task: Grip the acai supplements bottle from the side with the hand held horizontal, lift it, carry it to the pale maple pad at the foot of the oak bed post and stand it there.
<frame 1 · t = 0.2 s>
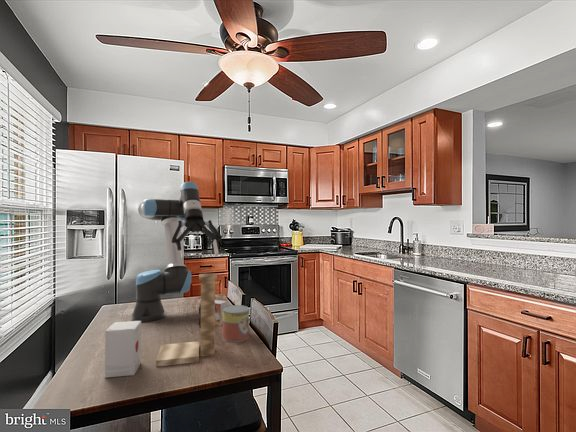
hand: (200, 256, 126), 35 cm above the table, tool tilted 35°, fingers open, 13 cm apart
canned food: (235, 337, 134), on the table
oak post: (207, 352, 118), on the table
small box: (216, 323, 151), on the table
maple pad: (179, 355, 115), on the table
supplement box: (123, 371, 104), on the table
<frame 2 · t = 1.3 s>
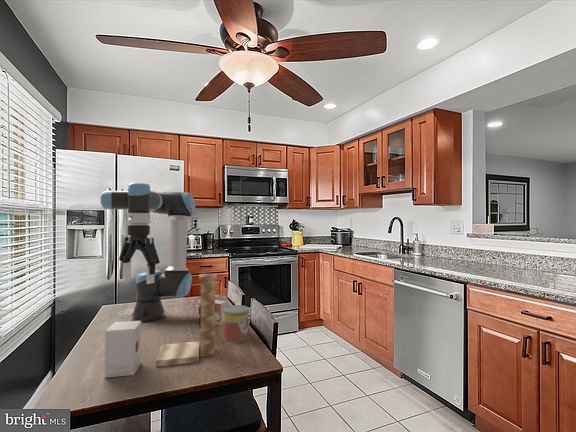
hand: (138, 281, 117), 27 cm above the table, tool pointing down, fingers open, 13 cm apart
nothing on the table moved.
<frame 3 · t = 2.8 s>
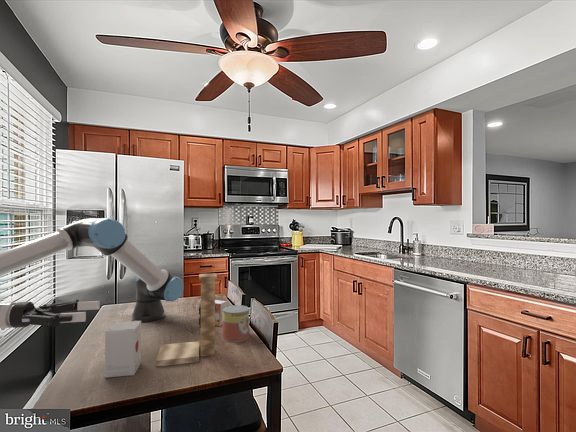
hand: (93, 310, 102), 20 cm above the table, tool horizontal, fingers open, 13 cm apart
nothing on the table moved.
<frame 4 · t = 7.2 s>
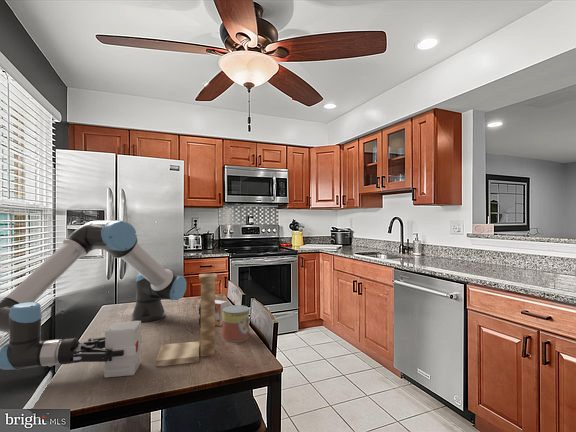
hand: (138, 344, 105), 8 cm above the table, tool horizontal, fingers closed on supplement box, 9 cm apart
supplement box: (123, 370, 104), on the table, touching gripper
everything else where it was.
when the fingers open (11 cm above the table, at t = 13.2 s): supplement box drops 1 cm, resting on maple pad.
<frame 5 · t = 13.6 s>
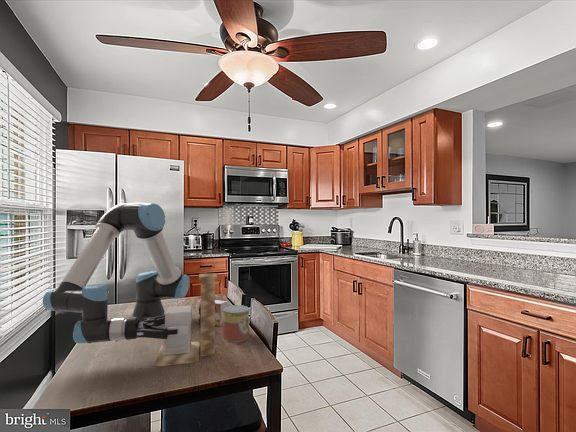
hand: (188, 323, 116), 11 cm above the table, tool horizontal, fingers open, 13 cm apart
supplement box: (178, 350, 116), point 2 cm above the table, touching maple pad
everything else where it was.
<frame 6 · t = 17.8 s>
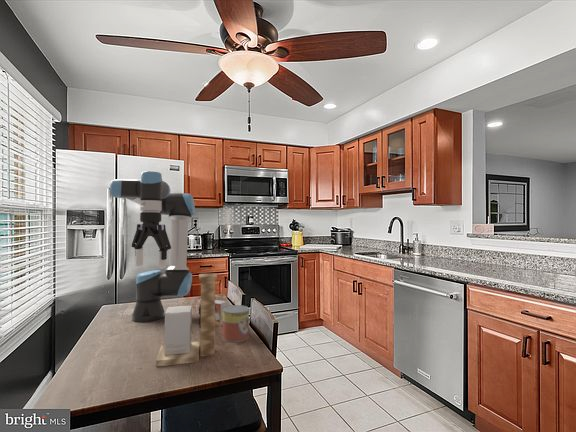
hand: (150, 267, 121), 32 cm above the table, tool pointing down, fingers open, 13 cm apart
nothing on the table moved.
at the end: supplement box inside the target area on the maple pad (0.8 cm from its centre), point 1.8 cm above the maple pad's base; supplement box tilted 0°; the gripper is holding nothing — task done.
